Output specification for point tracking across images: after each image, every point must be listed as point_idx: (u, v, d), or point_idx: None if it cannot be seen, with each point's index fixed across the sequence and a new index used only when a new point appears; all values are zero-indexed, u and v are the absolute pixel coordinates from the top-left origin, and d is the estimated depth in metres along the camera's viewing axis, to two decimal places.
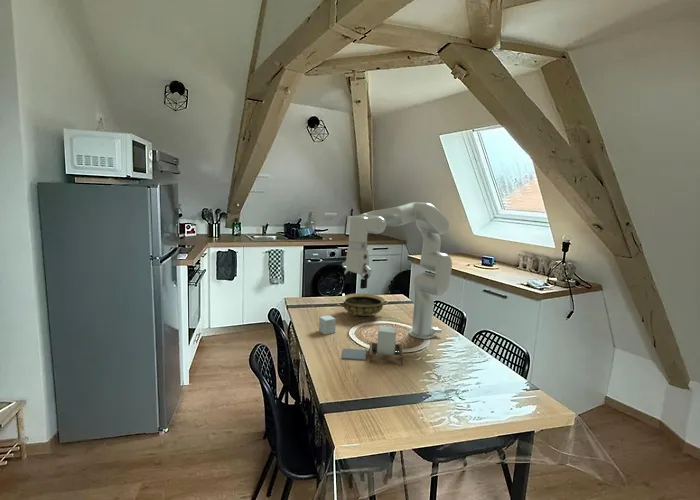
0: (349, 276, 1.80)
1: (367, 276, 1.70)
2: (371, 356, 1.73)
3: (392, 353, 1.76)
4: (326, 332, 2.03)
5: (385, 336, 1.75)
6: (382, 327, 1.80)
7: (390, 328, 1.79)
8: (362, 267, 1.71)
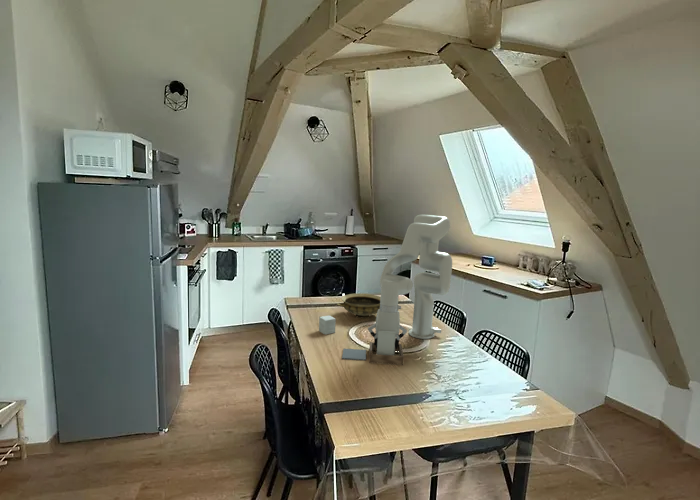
0: (377, 339, 1.80)
1: (402, 336, 1.78)
2: (371, 356, 1.73)
3: (392, 353, 1.76)
4: (326, 332, 2.03)
5: (385, 336, 1.75)
6: None
7: None
8: (399, 329, 1.77)
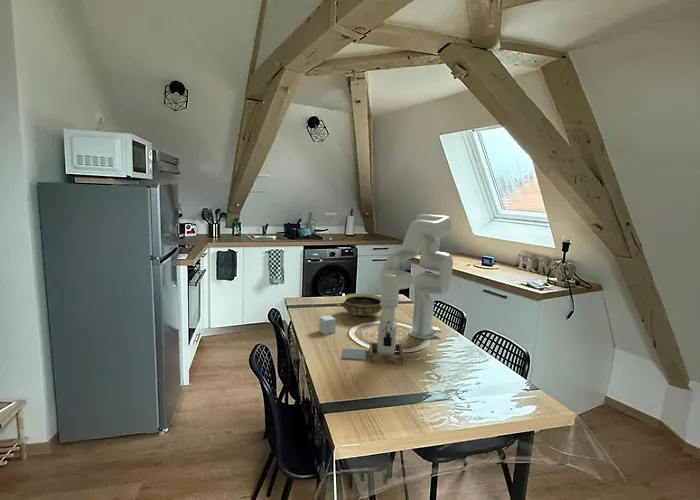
0: None
1: None
2: (371, 356, 1.73)
3: None
4: (326, 332, 2.03)
5: None
6: None
7: None
8: None
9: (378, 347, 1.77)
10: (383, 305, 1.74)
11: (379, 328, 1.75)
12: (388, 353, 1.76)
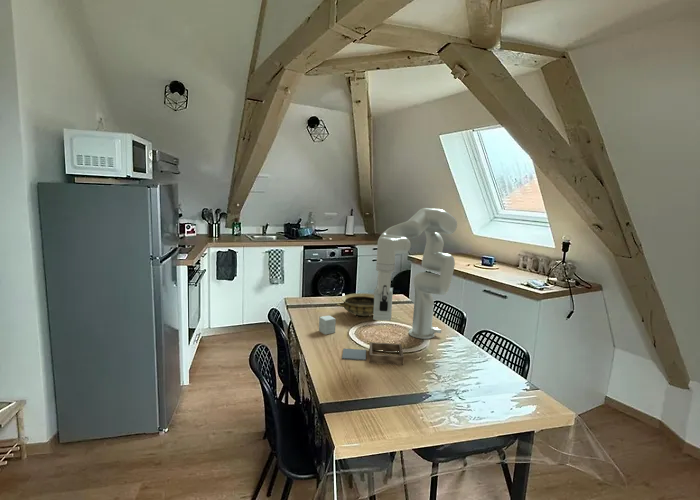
0: None
1: None
2: (371, 356, 1.73)
3: None
4: (326, 332, 2.03)
5: (392, 294, 1.75)
6: None
7: None
8: None
9: (374, 312, 1.74)
10: (379, 269, 1.71)
11: (375, 293, 1.73)
12: (384, 318, 1.74)
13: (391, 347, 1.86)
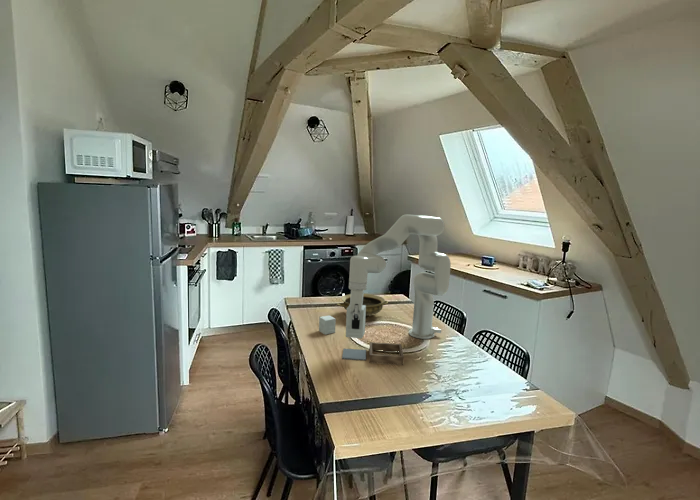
0: None
1: None
2: (371, 356, 1.73)
3: None
4: (326, 332, 2.03)
5: (364, 312, 1.77)
6: None
7: None
8: None
9: (346, 330, 1.76)
10: (351, 287, 1.73)
11: (347, 311, 1.75)
12: (356, 336, 1.75)
13: (391, 347, 1.86)
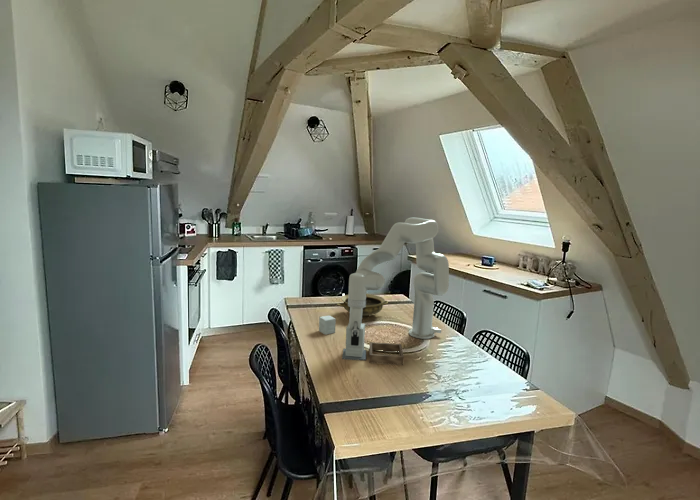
0: None
1: None
2: (371, 356, 1.73)
3: None
4: (326, 332, 2.03)
5: (364, 331, 1.79)
6: None
7: None
8: None
9: (346, 349, 1.78)
10: (350, 305, 1.75)
11: (347, 330, 1.76)
12: (356, 355, 1.77)
13: (391, 347, 1.86)
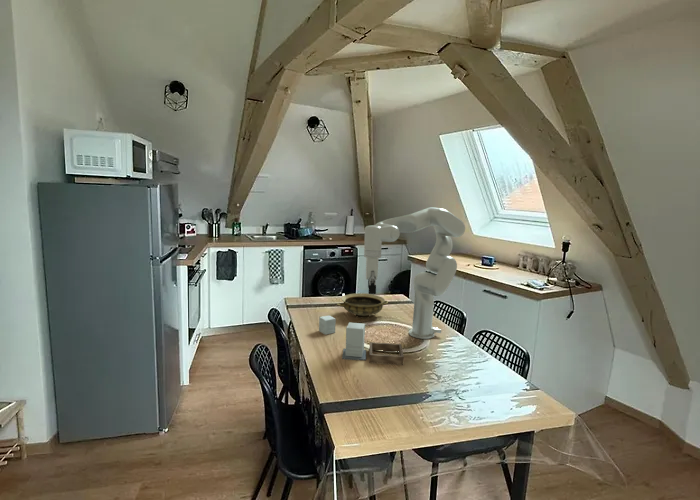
0: None
1: None
2: (371, 356, 1.73)
3: None
4: (326, 332, 2.03)
5: (364, 331, 1.79)
6: (351, 327, 1.77)
7: (353, 324, 1.80)
8: None
9: (346, 349, 1.78)
10: (367, 255, 1.83)
11: (347, 330, 1.76)
12: (356, 355, 1.77)
13: (391, 347, 1.86)
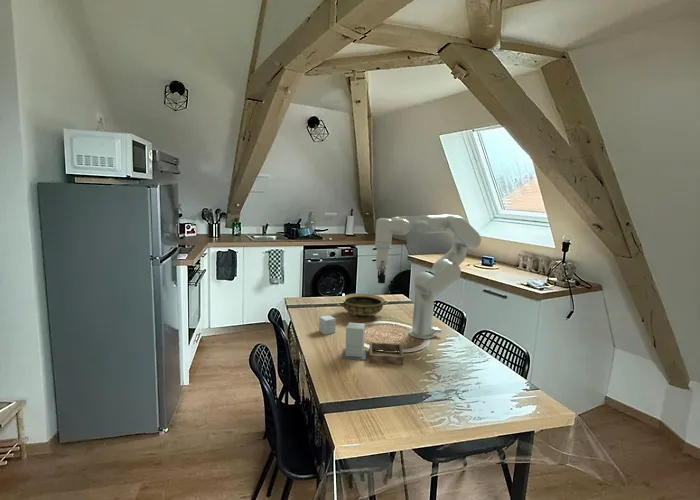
0: None
1: None
2: (371, 356, 1.73)
3: None
4: (326, 332, 2.03)
5: (364, 331, 1.79)
6: (351, 327, 1.77)
7: (353, 324, 1.80)
8: None
9: (346, 349, 1.78)
10: (378, 246, 1.92)
11: (347, 330, 1.76)
12: (356, 355, 1.77)
13: (391, 347, 1.86)
